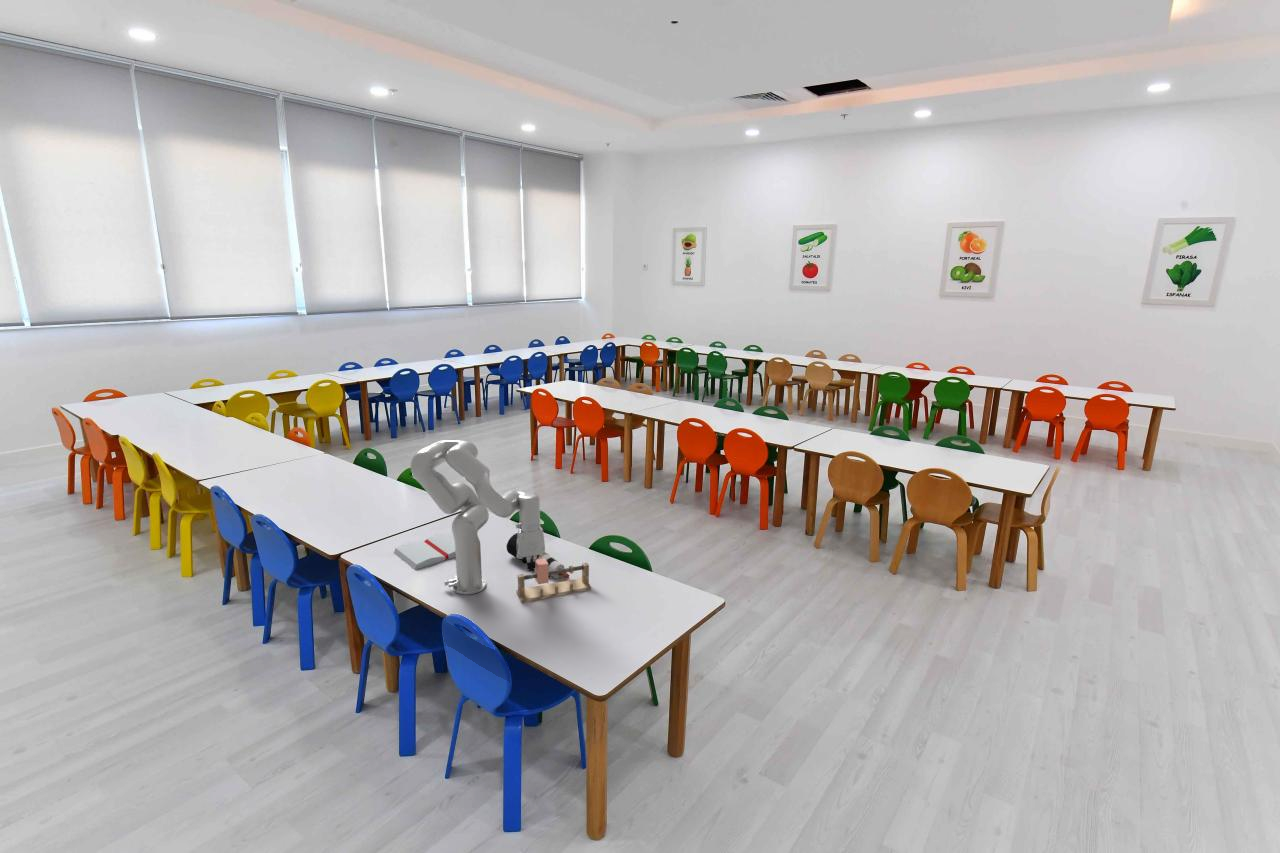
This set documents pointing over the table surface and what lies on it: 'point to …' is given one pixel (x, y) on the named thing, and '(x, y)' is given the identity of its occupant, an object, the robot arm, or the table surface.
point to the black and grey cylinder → (551, 561)
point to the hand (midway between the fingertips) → (531, 570)
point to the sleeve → (541, 571)
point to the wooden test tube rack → (554, 585)
